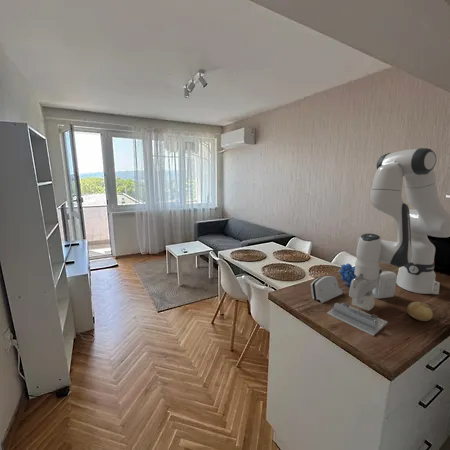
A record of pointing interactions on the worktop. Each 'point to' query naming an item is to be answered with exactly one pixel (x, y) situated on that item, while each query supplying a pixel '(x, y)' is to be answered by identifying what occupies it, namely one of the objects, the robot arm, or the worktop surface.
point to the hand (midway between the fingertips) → (363, 301)
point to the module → (365, 301)
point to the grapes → (347, 273)
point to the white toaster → (325, 288)
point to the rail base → (380, 322)
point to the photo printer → (385, 285)
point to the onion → (420, 311)
